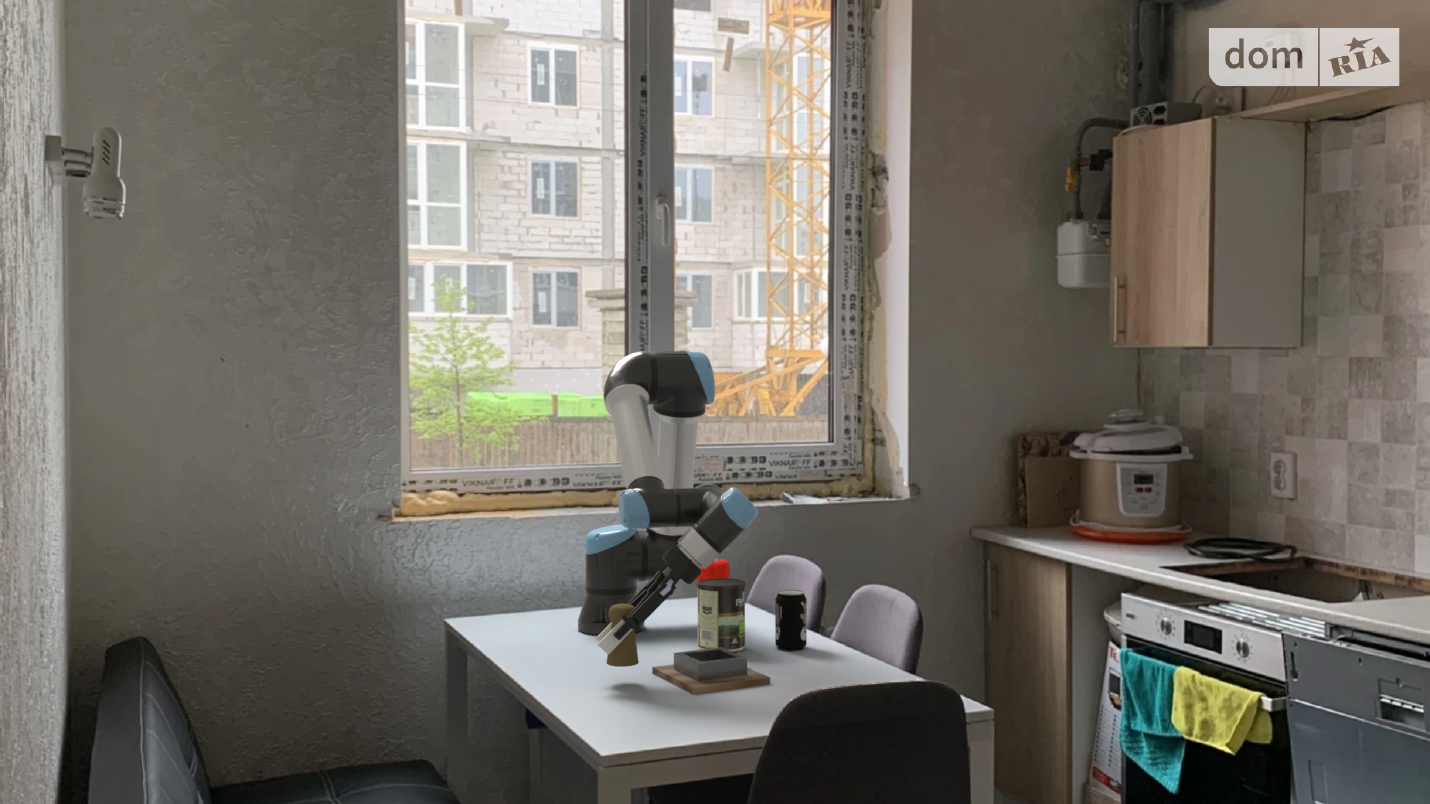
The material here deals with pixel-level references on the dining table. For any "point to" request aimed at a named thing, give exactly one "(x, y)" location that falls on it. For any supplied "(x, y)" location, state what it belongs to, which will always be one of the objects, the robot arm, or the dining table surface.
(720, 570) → the apple
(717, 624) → the coffee can
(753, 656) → the dining table surface
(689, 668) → the socket plate
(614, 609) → the cork
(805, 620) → the beverage can
